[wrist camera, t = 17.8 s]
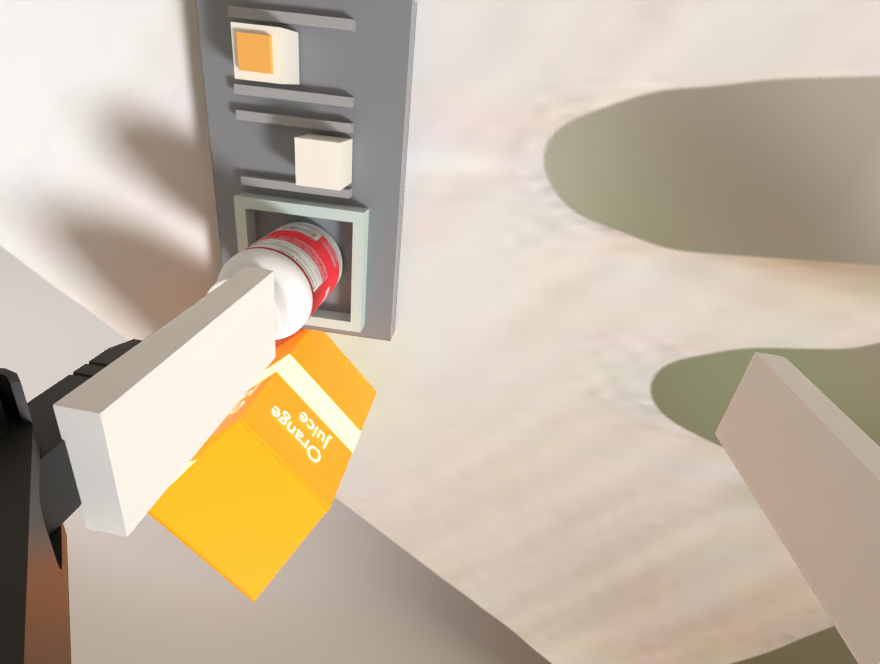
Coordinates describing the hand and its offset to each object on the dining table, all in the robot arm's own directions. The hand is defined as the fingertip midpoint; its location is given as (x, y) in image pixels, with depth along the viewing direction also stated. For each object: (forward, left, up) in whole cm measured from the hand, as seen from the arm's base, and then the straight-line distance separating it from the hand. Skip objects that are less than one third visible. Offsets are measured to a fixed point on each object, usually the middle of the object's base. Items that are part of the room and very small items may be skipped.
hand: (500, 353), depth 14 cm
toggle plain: (-1, -12, -24) cm, 27 cm away
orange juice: (+19, -14, -26) cm, 35 cm away
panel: (+1, -14, -26) cm, 29 cm away
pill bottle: (+7, -14, -24) cm, 29 cm away
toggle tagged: (-7, -16, -24) cm, 29 cm away
